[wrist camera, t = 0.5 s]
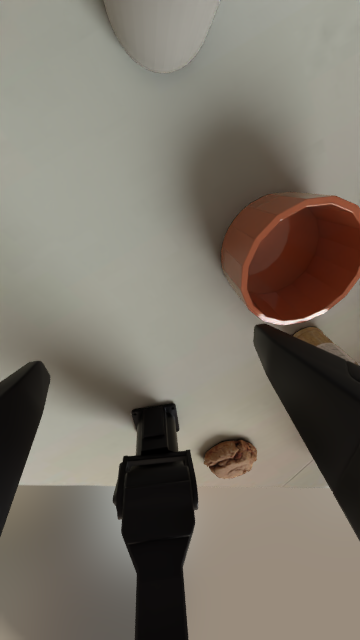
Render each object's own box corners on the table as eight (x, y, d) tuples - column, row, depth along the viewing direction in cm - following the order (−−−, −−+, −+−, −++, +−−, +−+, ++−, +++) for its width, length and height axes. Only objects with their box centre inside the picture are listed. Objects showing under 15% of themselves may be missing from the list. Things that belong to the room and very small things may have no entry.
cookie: (212, 472, 46) (216, 489, 44) (196, 447, 40) (199, 465, 38) (259, 458, 45) (265, 474, 43) (249, 431, 39) (256, 448, 37)
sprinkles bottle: (320, 347, 30) (420, 447, 19) (287, 357, 31) (366, 461, 19) (322, 320, 28) (439, 417, 17) (286, 331, 28) (378, 433, 17)
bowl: (307, 289, 25) (346, 316, 20) (220, 300, 25) (238, 331, 20) (332, 186, 20) (393, 188, 15) (221, 198, 19) (246, 205, 14)
